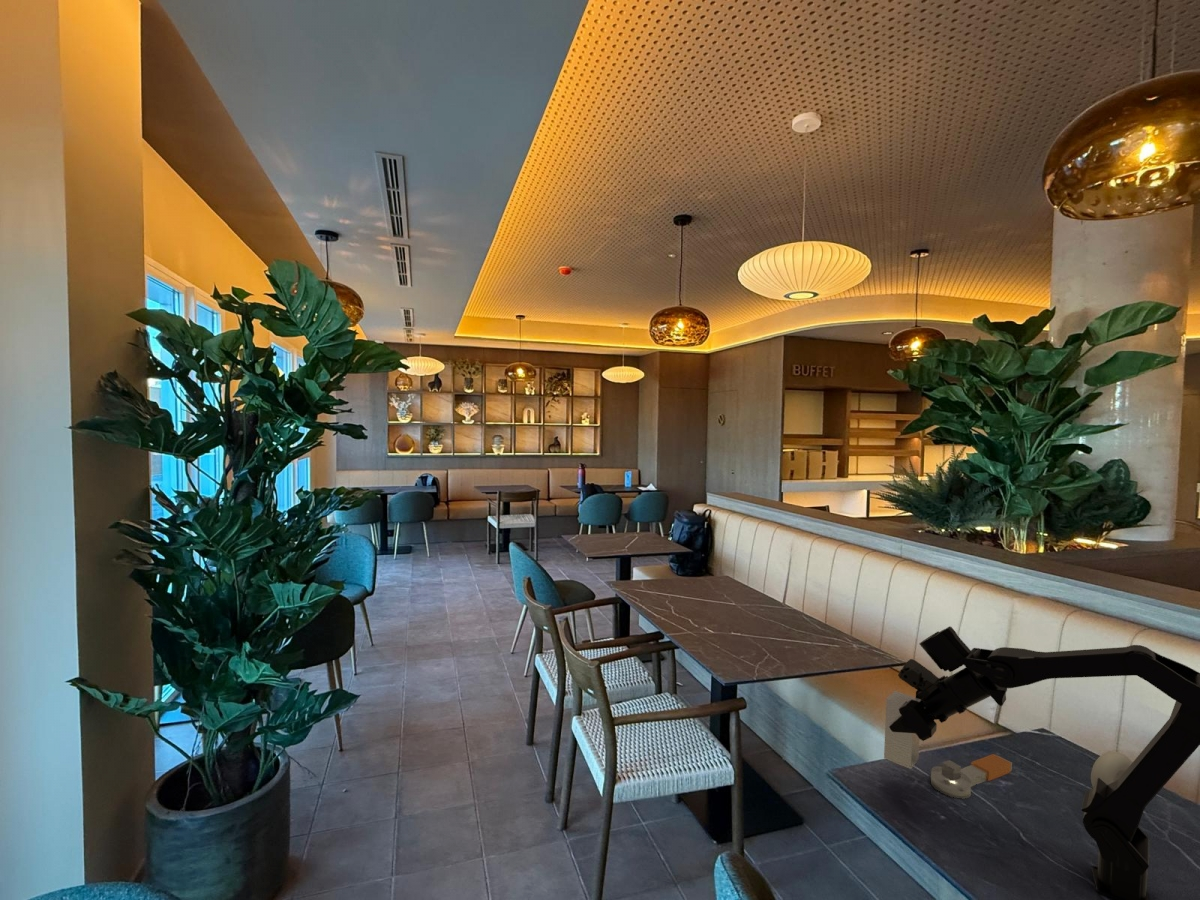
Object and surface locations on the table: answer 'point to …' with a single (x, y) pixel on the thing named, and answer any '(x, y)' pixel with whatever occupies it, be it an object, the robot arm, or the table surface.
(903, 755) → the tall beige block
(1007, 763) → the ratchet
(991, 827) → the table surface
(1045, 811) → the table surface
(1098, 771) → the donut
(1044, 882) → the table surface
